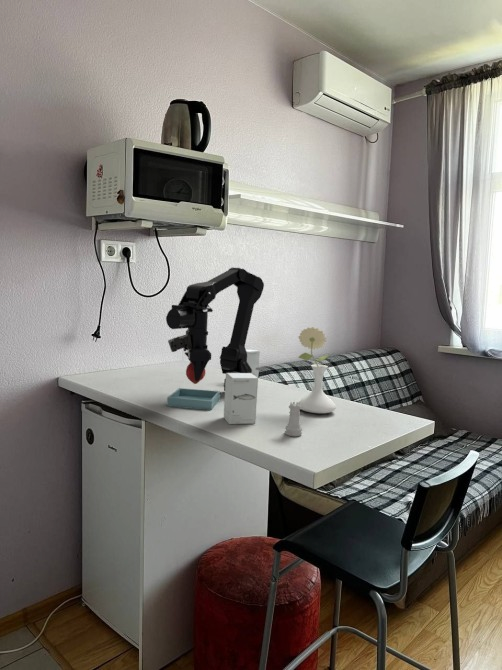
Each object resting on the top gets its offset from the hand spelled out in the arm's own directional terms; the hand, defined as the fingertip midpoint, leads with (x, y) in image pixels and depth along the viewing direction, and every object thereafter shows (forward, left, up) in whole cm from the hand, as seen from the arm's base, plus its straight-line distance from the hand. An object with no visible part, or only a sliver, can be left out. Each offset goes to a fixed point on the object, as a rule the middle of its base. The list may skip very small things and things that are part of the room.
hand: (195, 378), depth 159 cm
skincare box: (-12, -35, -8) cm, 38 cm away
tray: (0, 0, -7) cm, 7 cm away
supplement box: (-16, +15, -8) cm, 23 cm away
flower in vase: (-36, -2, -8) cm, 37 cm away
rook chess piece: (-31, +23, -8) cm, 39 cm away
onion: (0, 0, -2) cm, 2 cm away
